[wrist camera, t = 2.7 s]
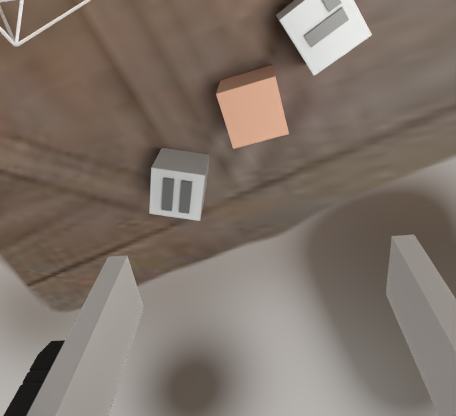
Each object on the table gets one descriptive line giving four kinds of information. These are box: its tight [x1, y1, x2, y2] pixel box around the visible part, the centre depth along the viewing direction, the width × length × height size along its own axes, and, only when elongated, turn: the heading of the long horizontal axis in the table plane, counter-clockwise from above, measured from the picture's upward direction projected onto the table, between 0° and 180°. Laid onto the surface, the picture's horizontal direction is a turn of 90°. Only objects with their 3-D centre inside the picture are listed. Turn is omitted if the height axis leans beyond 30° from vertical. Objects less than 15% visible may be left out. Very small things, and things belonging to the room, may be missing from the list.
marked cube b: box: [276, 0, 372, 75], centre depth 31 cm, size 5×5×5 cm
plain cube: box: [216, 65, 289, 149], centre depth 35 cm, size 5×5×5 cm
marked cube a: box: [150, 148, 210, 221], centre depth 39 cm, size 5×5×5 cm
